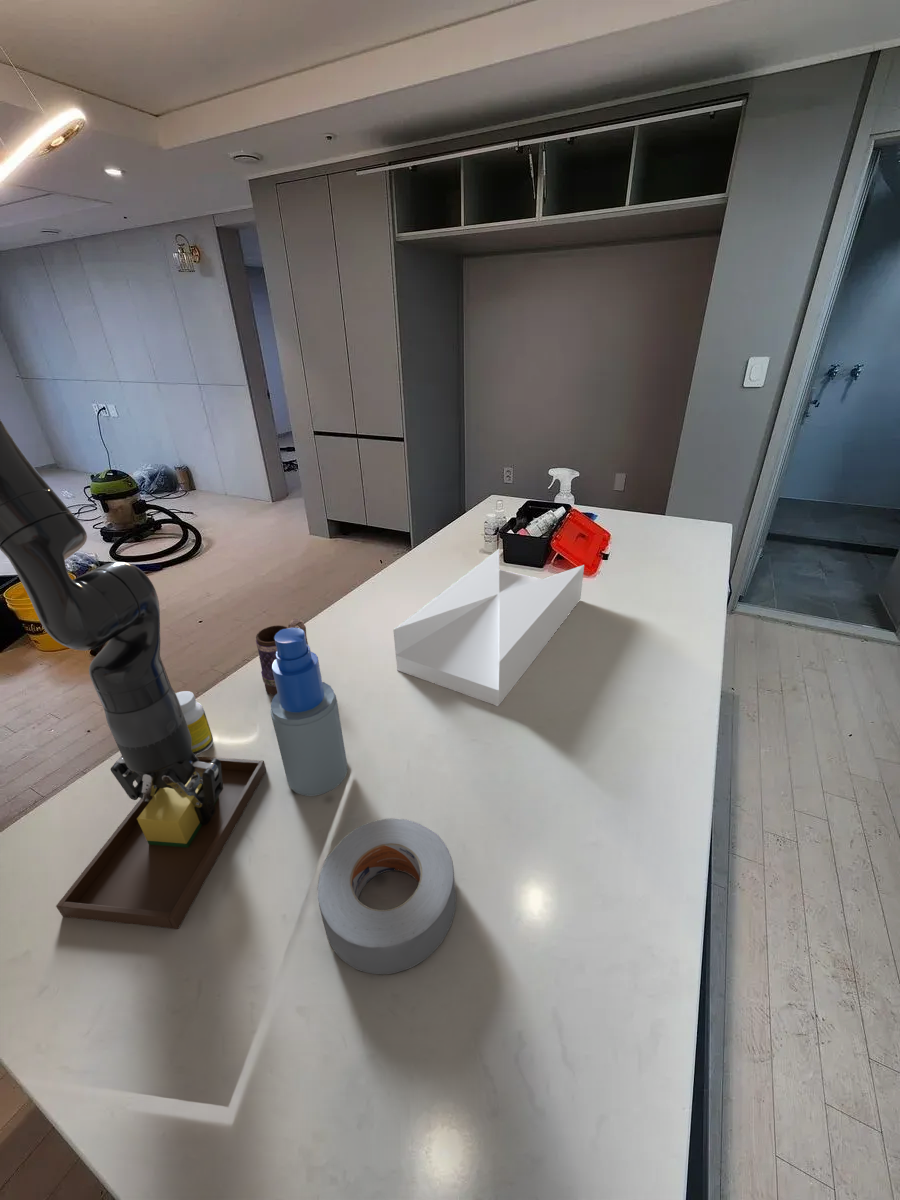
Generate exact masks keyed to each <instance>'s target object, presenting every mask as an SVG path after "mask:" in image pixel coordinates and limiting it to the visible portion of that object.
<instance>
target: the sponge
mask: <svg viewBox="0 0 900 1200" xmlns="http://www.w3.org/2000/svg"><path fill="white" fill-rule="evenodd" d="M190 781H191V778H190V779H189V781H188V782H187V783H186V785H185V786H187V785H188V783H189V782H190ZM195 792H196V794H197V795H199V793H200V790H199V789H198V788H197V789H196V790H195ZM218 798H219V796H218ZM218 798H217V799H216V801H215V803H216V802H217V800H218ZM215 803H214V805H215ZM194 807H195V806H194V805H193V804H192V802H191V801H189V799H188V798H187V797H186V798H182V797H181V796H180V795H179V794H178V793H177V792H176V791H175V790H174V789H172V788H168V787H167V788H160V789H159V790H158V791H157V793H156V794H155V795H154V797H153V798H152V799H151V801H150V802H149V803H148V805H147V806H146V807H145V809H144V810H143V811H142V813H141V814H140V815H139V817H138V818H137V820H138V822H139V825H140V827H141V829H142V831H143V833H144V835H145V837H146V840H147V842H148V844H149V845H161V846H174V847H187V848H188V847H189V846H190V844H191V842H192V841H193V839H194V838H195V836H196V834H197V833H198V831H199V829H200V828H201V826H202V824H200V821H199V819H198V816H197V814H196V811H195V808H194Z"/></svg>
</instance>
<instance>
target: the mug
mask: <svg viewBox="0 0 900 1200" xmlns="http://www.w3.org/2000/svg"><path fill="white" fill-rule="evenodd" d="M297 627H298V628H300V629H302V630H303V631H304V632H305V637H306V643H307V645H309V642H308V637H307V627H306V625H305V623H304V622H303V621H302V619H301V618H293V619H292V620H290V622H289V623H288V625H287V626H285V625H270V626H267V627H265V628H263V629H261V630H259V631H258V632H257V633H256V635H255V644H256V648H257V652H258V657H259V662H260V667H261V668H260V669H261V672H260V673H261V678H262V681H263V683H264V688H265V691H266V693H267V694H269V695H271V696H273V697H274V696H275V695H276V694H277V688H276V684H275V680H274V675H273V671H272V664H273V662H274V661H275V660H276V651H277V648H276V644H275V639H274V637H275V635H276V633H277V632H279V631H280V630H282V629H286V628H297Z"/></svg>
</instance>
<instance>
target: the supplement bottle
mask: <svg viewBox="0 0 900 1200" xmlns="http://www.w3.org/2000/svg"><path fill="white" fill-rule="evenodd" d="M175 694H176V696H177V698H178V700H179V703H180V706H181V709H182V712H183V714H184V717H185V720H186V723H187V726H188V729H189V732H190V734H191V738H192V752H193V753H194V755H195V756H198V755H200V754H202V753H204V752H205V751H207V750H210V748H211V747H212V746H213V743H214V736H213V733H212V731H211V727H210V724H209V720H208V718H207V715H206V712H205V709H204V706H203V705H202V704H201V703H200V702H198V701H197V700H196V696H195V694H194V693H193V692H192V691H189V690H183V691H178V692H175Z"/></svg>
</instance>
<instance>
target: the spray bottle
mask: <svg viewBox="0 0 900 1200" xmlns="http://www.w3.org/2000/svg"><path fill="white" fill-rule="evenodd" d="M274 639H275V644H276V648H277V651H276V660H275V661H274V662H273V664H272V671H273V675H274V680H275V684H276V688H277V694H276V695H275V696H274V695H273V697H272V700H271V703H270V716H271V721H272V725H273V730H274V733H275V737H276V741H277V745H278V750H279V753H280V757H281V761H282V765H283V769H284V773H285V778H286V781H287V784H288V786H289V789H291V790H292V791H293V792H295V794H299V795H302V796H307V797H309V796H310V797H315V796H319V795H324V794H327V793H328V792H330V791H332V790H334V789H336V787H338V786H339V785H340V784H341V783H342V782H343V780H344V779H345V778H346V776H347V773H348V770H349V769H348V760H347V753H346V748H345V743H344V742H345V741H344V736H343V730H342V724H341V723H342V722H341V718H340V717H341V716H340V711H339V706H338V705H339V704H338V700H337V695H336V693H335V691H334V689H333V688H332V686H331V685H329V684H328V683H326V682H325V681H323V678H322V674H321V672H322V671H321V668H320V662H319V657H318V656H317V654H316V653H315V652H313V651H311V647H310V645H309V644H308V645H307V643H306V637H305V632H304V631H303V630H302V629H300V628H299V627H295V628H286V629H282V630H280V631H279V632H277V633H276V635H275V637H274Z"/></svg>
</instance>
